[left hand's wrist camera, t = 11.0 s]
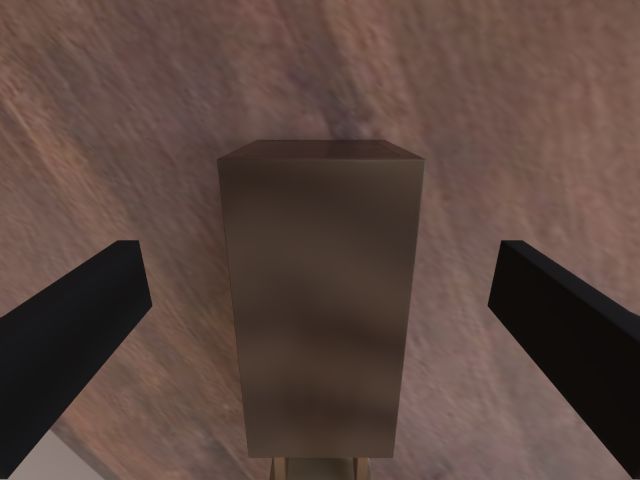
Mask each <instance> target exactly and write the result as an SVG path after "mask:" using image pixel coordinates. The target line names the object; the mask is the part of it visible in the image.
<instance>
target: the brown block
mask: <svg viewBox="0 0 640 480" xmlns="http://www.w3.org/2000/svg"><path fill="white" fill-rule="evenodd" d="M217 163H218V173H219V182H220V192H221V201H222V210H223V220H224V229H225V239H226V248H227V257H228V267H229V276H230V286H231V295H232V304H233V314H234V323H235V333H236V342H237V351H238V361H239V370H240V380H241V389H242V398H243V408H244V417H245V427H246V436H247V445H248V455H249V457H250V458H393V453H394V444H395V435H396V426H397V417H398V408H399V399H400V390H401V381H402V372H403V363H404V353H405V344H406V335H407V326H408V317H409V308H410V299H411V290H412V281H413V272H414V263H415V254H416V245H417V236H418V227H419V217H420V208H421V199H422V190H423V181H424V172H425V163H426V160H425V159H423V158H421V157H419V156H417V155H415V154H413V153H411V152H409V151H407V150H405V149H403V148H400V147H398V146H396V145H394V144H392V143H390V142H388V141H386V140H257V141H255V142H253V143H251V144H248V145H246V146H244V147H242V148H240V149H238V150H236V151H234V152H232V153H230V154H228V155H226V156H224V157H221V158H219V159H217Z"/></svg>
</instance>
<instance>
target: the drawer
mask: <svg viewBox="0 0 640 480" xmlns="http://www.w3.org/2000/svg"><path fill="white" fill-rule="evenodd" d="M269 480H372V476H371V469H370V462H369V458H272V465H271V472H270V479H269Z"/></svg>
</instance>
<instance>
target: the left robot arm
mask: <svg viewBox="0 0 640 480" xmlns="http://www.w3.org/2000/svg"><path fill="white" fill-rule="evenodd" d="M151 307H152V301H151V297H150V292H149V287H148V282H147V278H146V273H145V268H144V263H143V259H142V254H141V249H140V244H139V240H117V241H116V242H114V243H113V244H111V245H110V246H108V247H107V248H105V249H104V250H102V251H101V252H99V253H98V254H96V255H95V256H93V257H92V258H90V259H89V260H87V261H86V262H84V263H83V264H81V265H80V266H78V267H77V268H75V269H74V270H72V271H71V272H69V273H68V274H66V275H65V276H63V277H62V278H60V279H59V280H57V281H56V282H54V283H53V284H51V285H50V286H48V287H47V288H45V289H44V290H42V291H41V292H39V293H38V294H36V295H35V296H33V297H32V298H30V299H29V300H27V301H25V302H24V303H22V304H21V305H19V306H18V307H16V308H15V309H13V310H12V311H10V312H9V313H7V314H6V315H4V316H3V317H1V318H0V479H8V478H9V476H10V475H11V474H12V473H13V472H14V470H15V469H16V468H17V467H18V466H19V464H20V463H21V462H22V461H23V460H24V458H25V457H26V456H27V455H28V454H29V453H30V451H31V450H32V449H33V448H34V447H35V445H36V444H37V443H38V442H39V441H40V439H41V438H42V437H43V436H44V435H45V433H46V432H47V431H48V430H49V429H50V427H51V426H52V425H53V424H54V423H55V422H56V420H57V419H58V418H59V417H60V416H61V414H62V413H63V412H64V411H65V410H66V408H67V407H68V406H69V405H70V404H71V402H72V401H73V400H74V399H75V398H76V396H77V395H78V394H79V393H80V392H81V391H82V389H83V388H84V387H85V386H86V385H87V383H88V382H89V381H90V380H91V379H92V377H93V376H94V375H95V374H96V373H97V371H98V370H99V369H100V368H101V367H102V365H103V364H104V363H105V362H106V361H107V360H108V358H109V357H110V356H111V355H112V354H113V352H114V351H115V350H116V349H117V348H118V346H119V345H120V344H121V343H122V342H123V340H124V339H125V338H126V337H127V336H128V334H129V333H130V332H131V331H132V330H133V328H134V327H135V326H136V325H137V324H138V323H139V321H140V320H141V319H142V318H143V317H144V315H145V314H146V313H147V312H148V311H149V309H150V308H151ZM488 307H489V308H490V309H491V311H492V312H493V313H494V314H495V315H496V317H497V318H498V319H499V320H500V321H501V323H502V324H503V325H504V326H505V327H506V328H507V330H508V331H509V332H510V333H511V334H512V336H513V337H514V338H515V339H516V340H517V342H518V343H519V344H520V345H521V346H522V348H523V349H524V350H525V351H526V352H527V354H528V355H529V356H530V357H531V358H532V360H533V361H534V362H535V363H536V364H537V365H538V367H539V368H540V369H541V370H542V371H543V373H544V374H545V375H546V376H547V377H548V379H549V380H550V381H551V382H552V383H553V385H554V386H555V387H556V388H557V389H558V391H559V392H560V393H561V394H562V395H563V396H564V398H565V399H566V400H567V401H568V402H569V404H570V405H571V406H572V407H573V408H574V410H575V411H576V412H577V413H578V414H579V416H580V417H581V418H582V419H583V420H584V422H585V423H586V424H587V425H588V426H589V427H590V429H591V430H592V431H593V432H594V433H595V435H596V436H597V437H598V438H599V439H600V441H601V442H602V443H603V444H604V445H605V447H606V448H607V449H608V450H609V451H610V453H611V454H612V455H613V456H614V457H615V458H616V460H617V461H618V462H619V463H620V464H621V466H622V467H623V468H624V469H625V470H626V472H627V473H628V474H629V475H630V476H631V478H632V479H640V316H638V315H636V314H634V313H632V312H630V311H628V310H627V309H625V308H624V307H622V306H621V305H619V304H618V303H616V302H615V301H613V300H611V299H610V298H608V297H607V296H605V295H604V294H602V293H601V292H599V291H598V290H596V289H595V288H593V287H592V286H590V285H589V284H587V283H586V282H584V281H583V280H581V279H580V278H578V277H577V276H575V275H574V274H572V273H571V272H569V271H568V270H566V269H565V268H563V267H562V266H560V265H559V264H557V263H556V262H554V261H553V260H551V259H550V258H548V257H547V256H545V255H544V254H542V253H541V252H539V251H538V250H536V249H535V248H533V247H532V246H530V245H529V244H527V243H526V242H524V241H523V240H501V244H500V249H499V254H498V259H497V263H496V268H495V273H494V278H493V282H492V287H491V292H490V297H489V301H488Z"/></svg>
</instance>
